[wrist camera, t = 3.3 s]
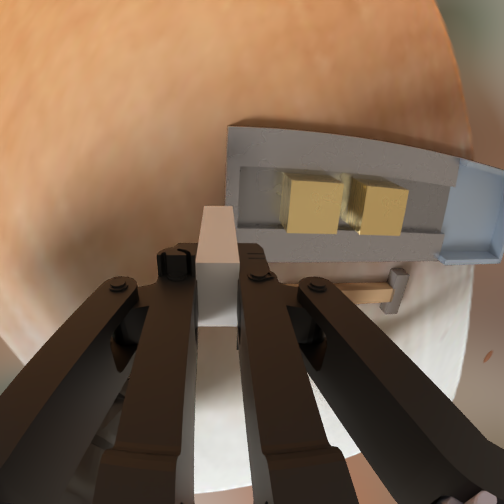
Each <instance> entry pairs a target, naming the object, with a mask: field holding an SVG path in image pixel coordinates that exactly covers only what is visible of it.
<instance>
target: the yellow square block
mask: <svg viewBox="0 0 504 504" xmlns="http://www.w3.org/2000/svg"><path fill="white" fill-rule="evenodd" d="M343 187H344V184H343V183H342V182H340V181H338V180H337V179H335V178H333V177H332V176H328V175H315V174H300V173H283V181H282V193H281V205H280V217H279V220H280V222H281V224H282V226H283V227H284V229H285V231H286V233H304V234H337V229H338V223H339V216H340V209H341V202H342V195H343Z"/></svg>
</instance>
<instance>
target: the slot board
mask: <svg viewBox="0 0 504 504" xmlns="http://www.w3.org/2000/svg"><path fill="white" fill-rule="evenodd" d="M459 164H460V158H458V157H455V156H452V155H448V154H444V153H440V152H436V151H431V150H427V149H422V148H417V147H413V146H408V145H403V144H397V143H392V142H386V141H380V140H374V139H368V138H362V137H355V136H348V135H340V134H333V133H324V132H315V131H305V130H294V129H282V128H267V127H249V126H227V147H226V174H225V206H233V214H234V222H235V230H236V238H237V243H257V244H259V245H260V246H261V247H262V248H263V250H264V253H265V256H266V260H267V262H392V261H438V259H439V255H440V252H441V248H442V244H443V241H444V237H445V234H444V233H442V232H441V228H442V224H443V220H444V216H445V211H446V206H447V202H448V197H449V191H450V186H451V187H456V182H457V176H458V170H459ZM283 173H300V174H315V175H328V176H332V177H333V178H335V179H337V180H338V181H340V182H342V183H343V184H344V187H343V195H342V202H341V209H340V216H339V223H338V229H337V234H304V233H286V231H285V229H284V227H283V226H282V224H281V222H280V220H279V217H280V205H281V193H282V181H283ZM352 178H362V179H371V180H380V181H389V182H393V183H395V184H397V185H399V186H401V187H403V188H405V189H407V190H409V193H408V199H407V204H406V210H405V215H404V220H403V224H402V229H401V234H400V236H386V235H359V234H358V233H357V232H356V231H355V230H354V229H353V228H352V227H351V226H350V225H348V224H347V223H346V217H347V211H348V204H349V197H350V190H351V182H352Z"/></svg>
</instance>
